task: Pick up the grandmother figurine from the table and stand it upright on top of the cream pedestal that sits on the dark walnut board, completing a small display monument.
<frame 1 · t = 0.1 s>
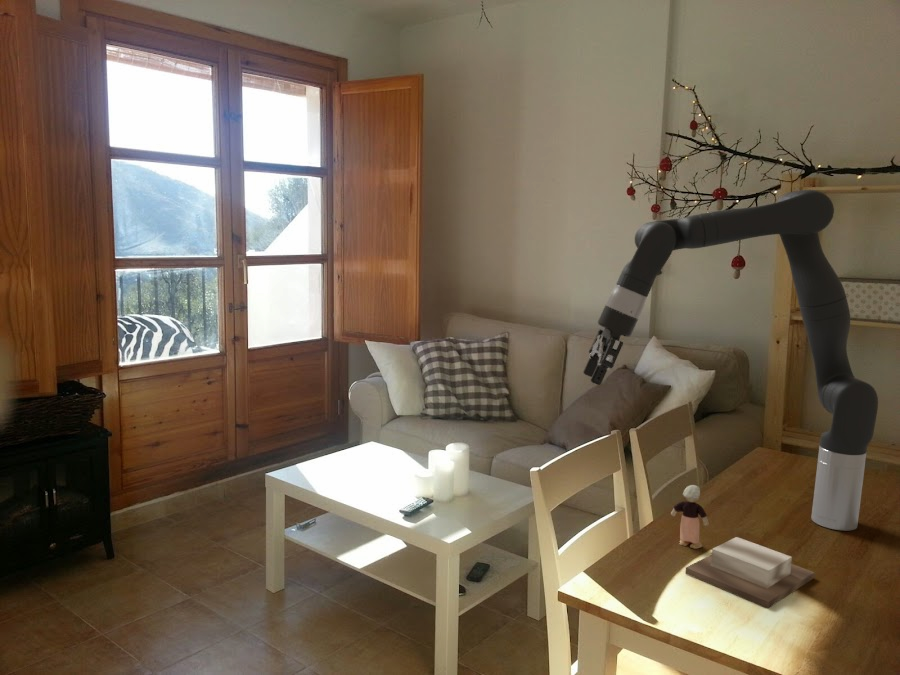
hand: (591, 379, 160), 31 cm above the table, tool tilted 20°, fingers open, 8 cm apart
grandmother figurine: (687, 544, 152), on the table
plinth: (749, 575, 139), on the table
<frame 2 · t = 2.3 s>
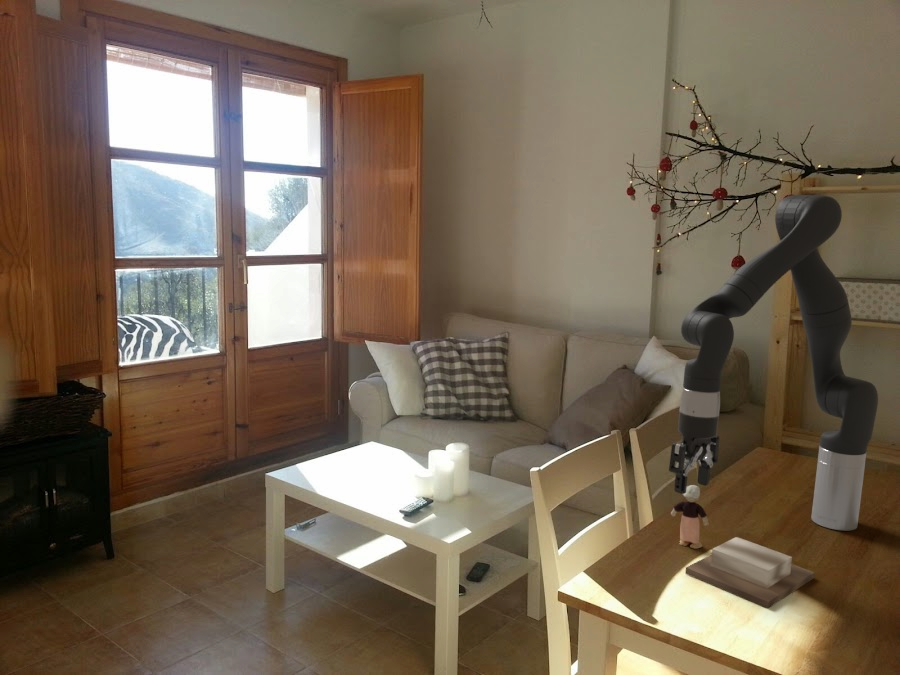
hand: (691, 488, 150), 12 cm above the table, tool pointing down, fingers open, 8 cm apart
nothing on the table moved.
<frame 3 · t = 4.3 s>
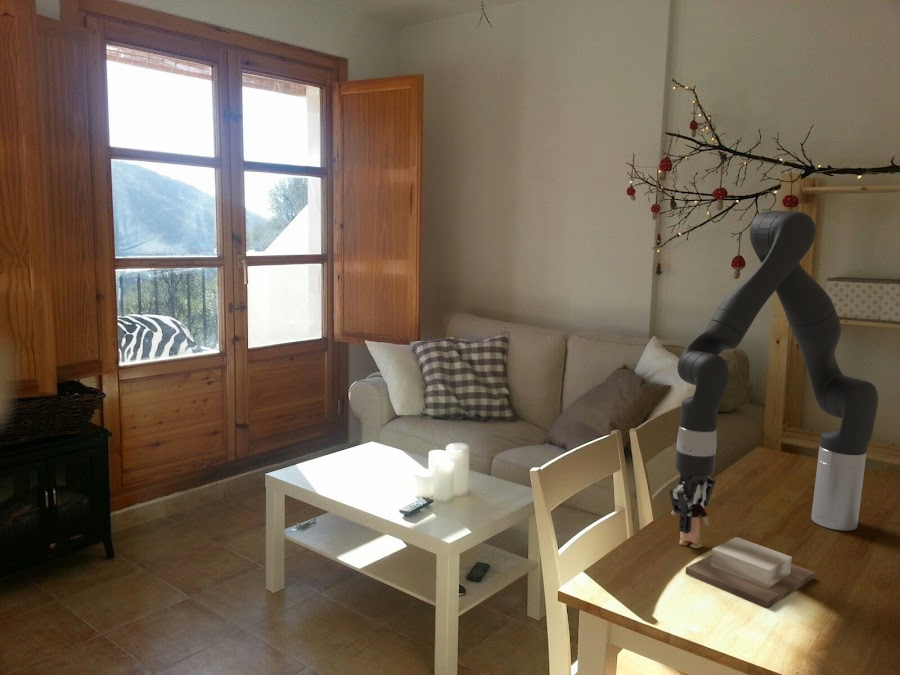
hand: (689, 529, 152), 3 cm above the table, tool pointing down, fingers closed on grandmother figurine, 3 cm apart
grandmother figurine: (687, 544, 152), on the table, touching gripper
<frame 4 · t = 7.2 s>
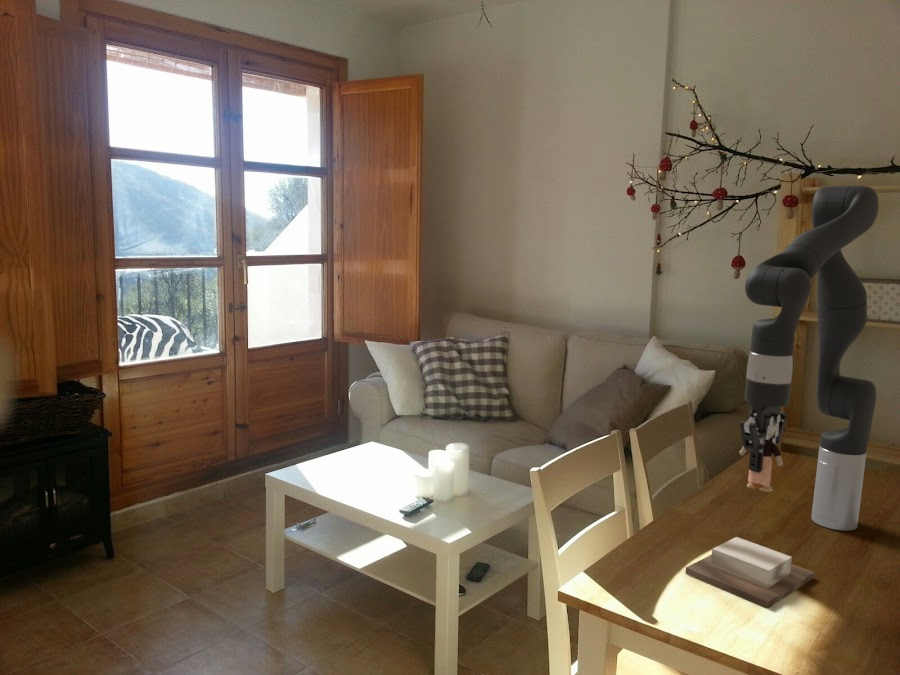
hand: (759, 468, 136), 21 cm above the table, tool pointing down, fingers closed on grandmother figurine, 2 cm apart
grandmother figurine: (755, 488, 136), point 17 cm above the table, touching gripper
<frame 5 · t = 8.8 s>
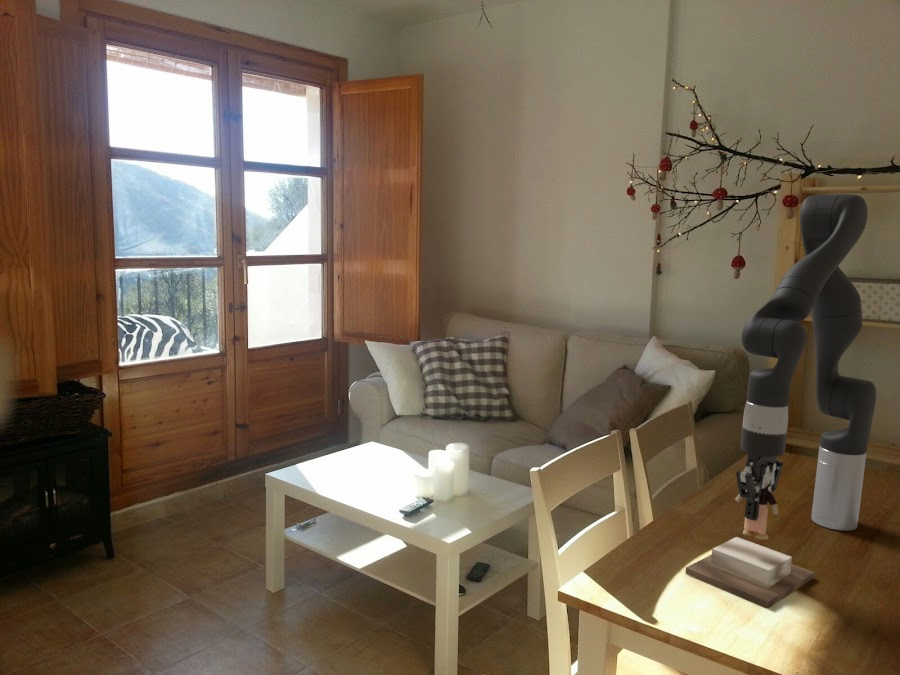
hand: (755, 516, 137), 12 cm above the table, tool pointing down, fingers closed on grandmother figurine, 2 cm apart
grandmother figurine: (751, 535, 138), point 8 cm above the table, touching gripper
when the fingers open (9 cm above the table, at t = 10.1 s): grandmother figurine stays where it is, resting on plinth.
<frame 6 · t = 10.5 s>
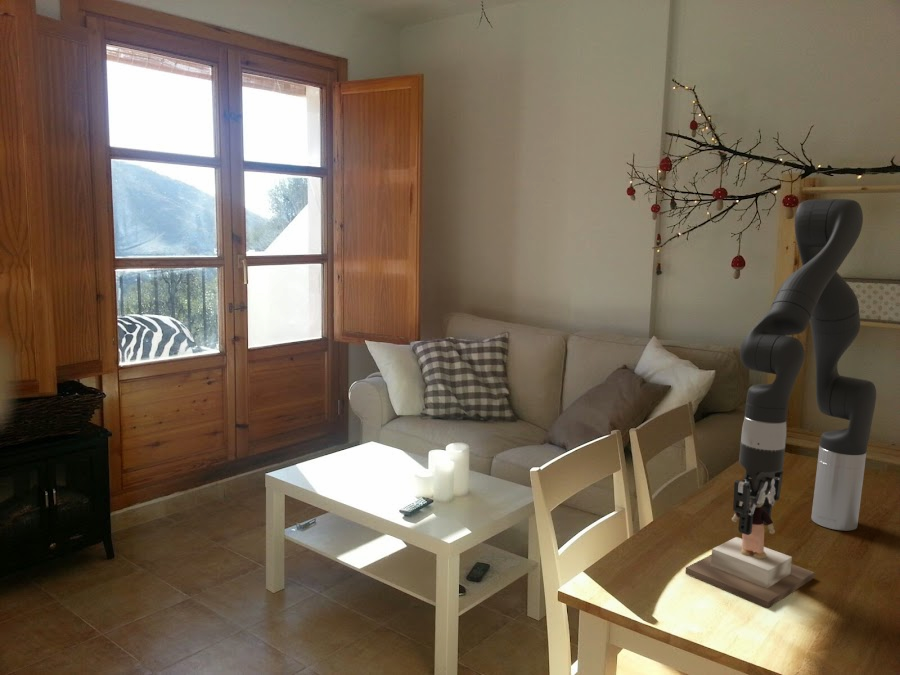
hand: (754, 528, 138), 9 cm above the table, tool pointing down, fingers open, 6 cm apart
grandmother figurine: (750, 554, 138), point 4 cm above the table, touching plinth
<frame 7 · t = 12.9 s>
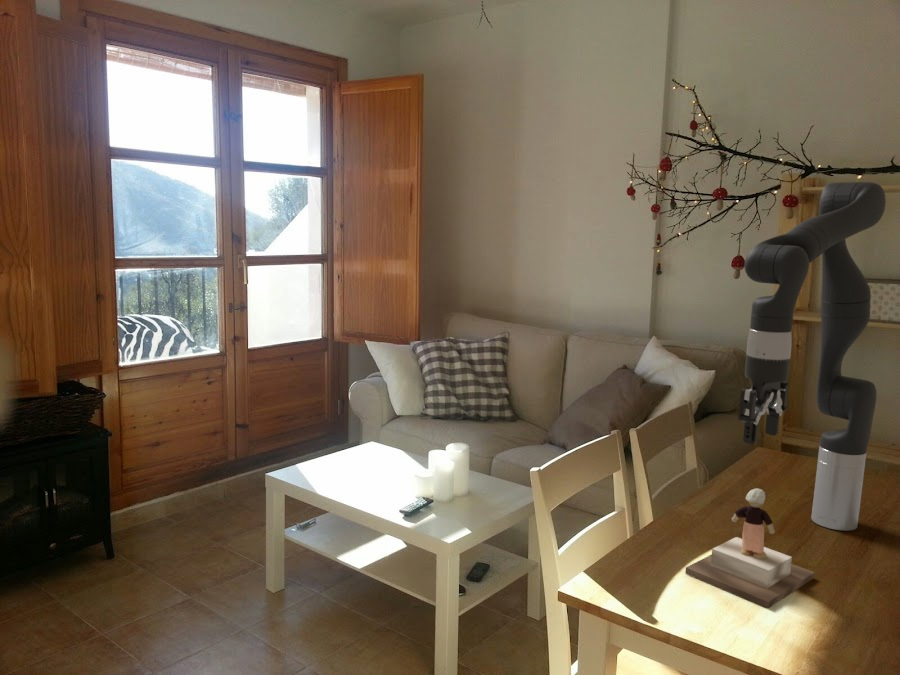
hand: (760, 438, 139), 26 cm above the table, tool pointing down, fingers open, 8 cm apart
nothing on the table moved.
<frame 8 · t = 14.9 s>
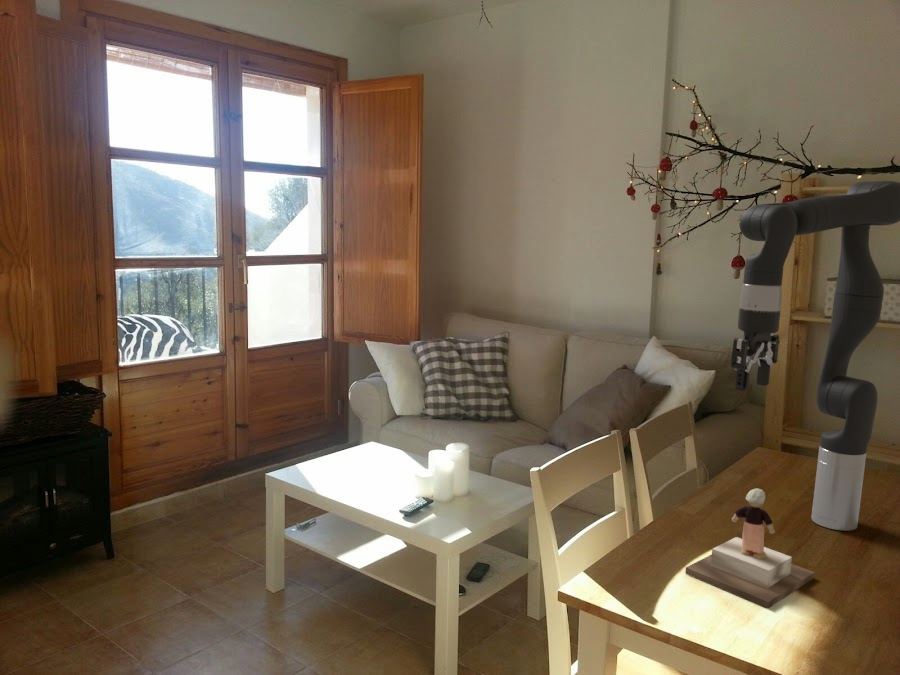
hand: (752, 387, 149), 33 cm above the table, tool pointing down, fingers open, 8 cm apart
nothing on the table moved.
at the end: grandmother figurine inside the target area on the plinth (0.5 cm from its centre), point 4.4 cm above the plinth's base; grandmother figurine tilted 0°; the gripper is holding nothing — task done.
